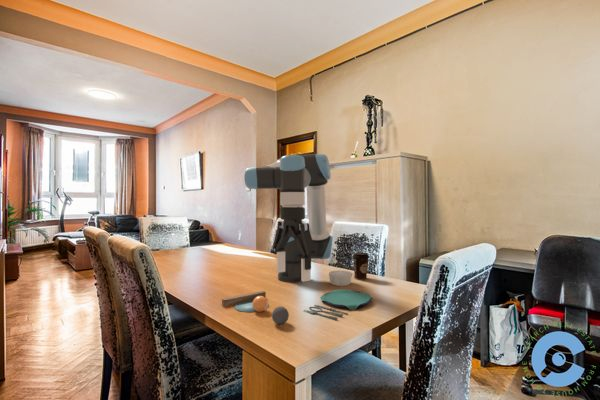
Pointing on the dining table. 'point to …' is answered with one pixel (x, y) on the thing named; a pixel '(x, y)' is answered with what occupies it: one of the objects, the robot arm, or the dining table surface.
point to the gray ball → (280, 315)
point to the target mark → (246, 306)
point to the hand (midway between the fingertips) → (292, 276)
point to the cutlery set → (341, 301)
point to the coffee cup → (360, 265)
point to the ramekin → (340, 278)
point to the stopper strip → (242, 298)
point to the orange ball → (260, 303)
